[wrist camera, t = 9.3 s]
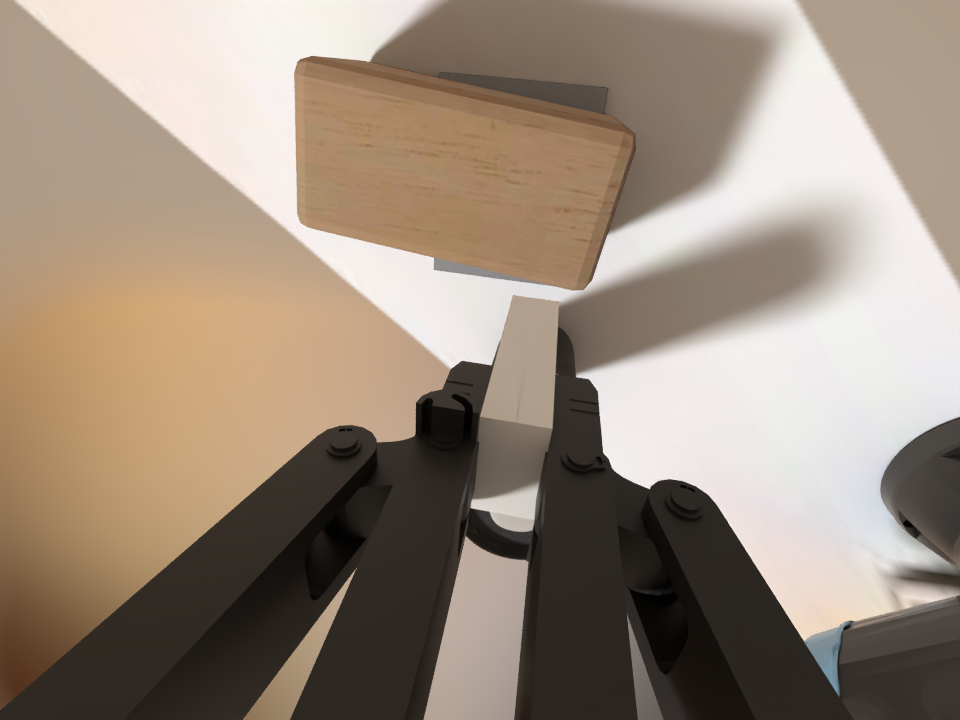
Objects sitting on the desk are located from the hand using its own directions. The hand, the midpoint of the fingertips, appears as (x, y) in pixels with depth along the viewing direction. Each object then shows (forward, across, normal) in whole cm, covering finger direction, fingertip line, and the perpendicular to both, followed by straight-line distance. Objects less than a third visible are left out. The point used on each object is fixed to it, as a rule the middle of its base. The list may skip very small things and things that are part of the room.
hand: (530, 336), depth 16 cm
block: (+20, -4, 0) cm, 20 cm away
